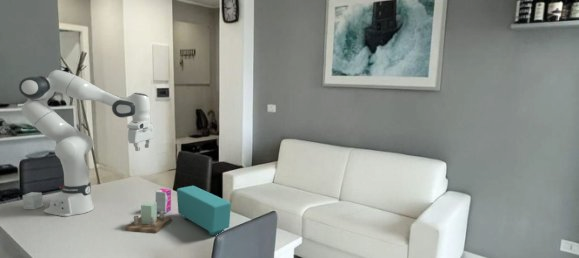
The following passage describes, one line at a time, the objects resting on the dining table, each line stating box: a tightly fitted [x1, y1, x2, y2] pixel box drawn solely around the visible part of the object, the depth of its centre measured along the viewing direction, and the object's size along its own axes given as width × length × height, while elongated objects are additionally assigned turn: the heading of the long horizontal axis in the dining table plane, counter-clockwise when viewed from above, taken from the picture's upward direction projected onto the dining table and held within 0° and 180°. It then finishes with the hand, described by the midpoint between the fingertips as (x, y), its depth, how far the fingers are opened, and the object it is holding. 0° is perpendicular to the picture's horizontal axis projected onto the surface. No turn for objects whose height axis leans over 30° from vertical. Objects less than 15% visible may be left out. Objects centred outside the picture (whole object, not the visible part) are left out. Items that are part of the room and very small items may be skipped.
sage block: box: [140, 201, 158, 225], centre depth 165 cm, size 5×5×9 cm
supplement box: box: [155, 188, 172, 215], centre depth 183 cm, size 6×6×12 cm
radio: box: [176, 185, 232, 236], centre depth 167 cm, size 34×10×15 cm, turn 44°
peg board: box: [124, 211, 172, 234], centre depth 165 cm, size 15×15×6 cm
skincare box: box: [22, 191, 44, 210], centre depth 183 cm, size 6×6×7 cm
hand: (142, 149), depth 188 cm, fingers open, 8 cm apart
